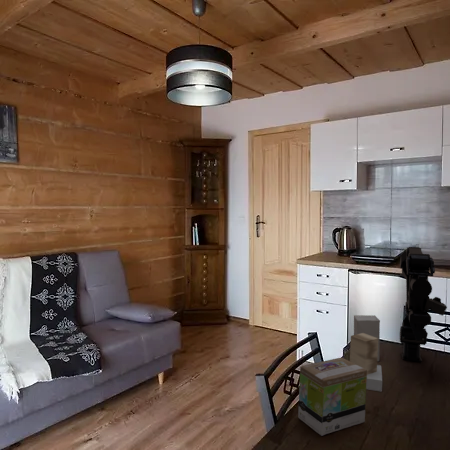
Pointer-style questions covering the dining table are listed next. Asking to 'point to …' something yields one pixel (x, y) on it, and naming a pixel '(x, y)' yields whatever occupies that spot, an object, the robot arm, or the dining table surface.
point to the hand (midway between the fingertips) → (416, 336)
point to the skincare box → (367, 326)
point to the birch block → (364, 351)
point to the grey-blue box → (375, 380)
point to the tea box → (332, 395)
